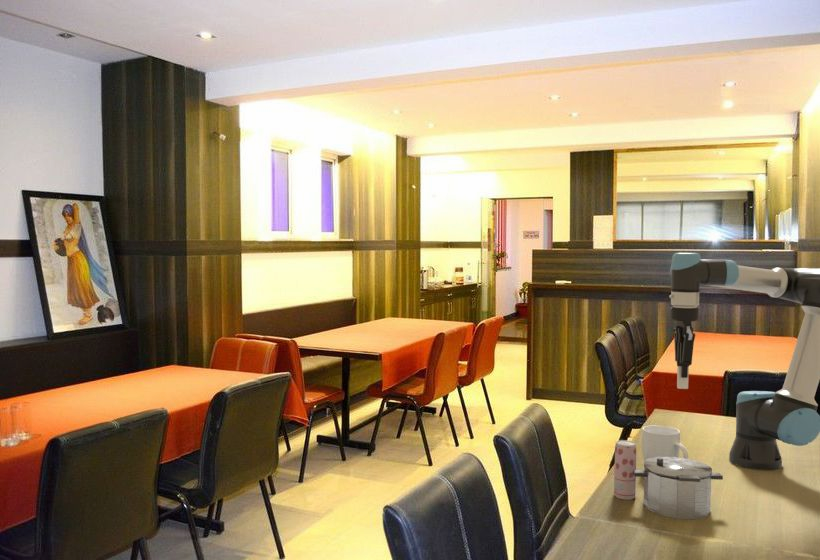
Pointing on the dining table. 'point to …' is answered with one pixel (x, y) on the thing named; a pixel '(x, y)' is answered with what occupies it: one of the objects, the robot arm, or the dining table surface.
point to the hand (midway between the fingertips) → (682, 388)
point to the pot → (677, 495)
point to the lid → (678, 468)
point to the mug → (661, 442)
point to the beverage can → (625, 469)
